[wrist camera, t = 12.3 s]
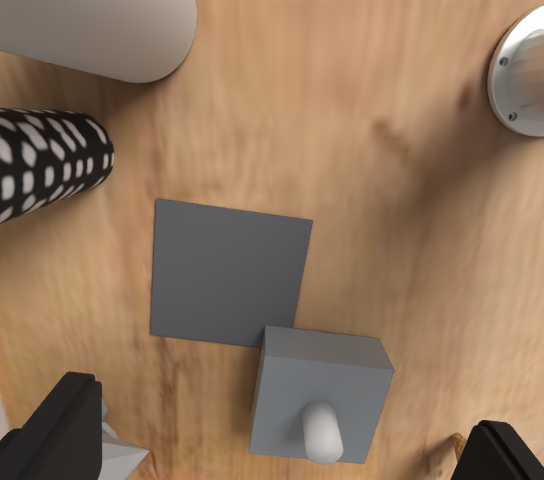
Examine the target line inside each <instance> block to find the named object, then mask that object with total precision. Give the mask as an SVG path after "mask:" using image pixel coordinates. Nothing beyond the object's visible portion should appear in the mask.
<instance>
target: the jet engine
mask: <svg viewBox="0 0 544 480" xmlns="http://www.w3.org/2000/svg"><path fill="white" fill-rule="evenodd" d="M108 411H109V410H108V408H107V406H106V404H105V403H104V401H103V399H102V468H101V472H100V475H99V478H98V480H126V479H127V477H128V476H129V475H130V474H131V473H132V471H133V470H134V469H135V468H136V467H137V465H138V464H139V463H140V462H141V461H142V459H143V458H144V457H145V456H146V454H147V453H148V452H149V450H147V449H144V448H141V447H138V446H135V445H133V444H130V443H127V442H124V441H122V440H119V438H118V437H117V435H116V433H115V431H114V430H113V429H112V428H111V427H110V426H109V425H108V424H107V423H104V422H103V420H104V419H105V417H106V415H107V413H108Z"/></svg>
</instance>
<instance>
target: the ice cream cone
mask: <svg viewBox="0 0 544 480" xmlns="http://www.w3.org/2000/svg"><path fill="white" fill-rule="evenodd" d="M452 440H453V445H454V449H455V453H456V458H457V462H458V461H459V459H460V456H461V454H462V451H463V449H464V447H465V444H466V442H467V440H466V439H465V438H464V437H463V436H462V435H461V434H459V433H455V434H453V436H452Z"/></svg>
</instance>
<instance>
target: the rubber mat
mask: <svg viewBox="0 0 544 480" xmlns="http://www.w3.org/2000/svg"><path fill="white" fill-rule="evenodd" d="M312 223H313V220H307V219H300V218H293V217H286V216H279V215H272V214H265V213H257V212H250V211H243V210H236V209H229V208H222V207H215V206H208V205H201V204H194V203H187V202H180V201H173V200H166V199H159V198H157V199H156V216H155V239H154V262H153V286H152V309H151V332H150V335H159V336H167V337H175V338H183V339H191V340H199V341H207V342H215V343H224V344H232V345H240V346H248V347H256V348H262V343H263V337H264V331H265V325H267V326H275V327H284V328H293V322H294V317H295V312H296V307H297V302H298V296H299V291H300V286H301V281H302V275H303V270H304V265H305V260H306V255H307V249H308V244H309V239H310V234H311V228H312Z"/></svg>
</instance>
